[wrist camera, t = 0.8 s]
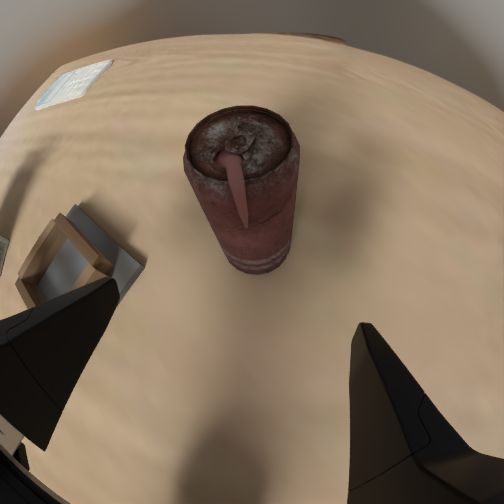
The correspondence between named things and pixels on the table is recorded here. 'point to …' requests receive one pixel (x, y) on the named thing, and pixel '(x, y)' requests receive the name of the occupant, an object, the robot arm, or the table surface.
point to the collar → (73, 260)
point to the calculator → (73, 84)
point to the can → (246, 183)
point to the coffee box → (3, 250)
